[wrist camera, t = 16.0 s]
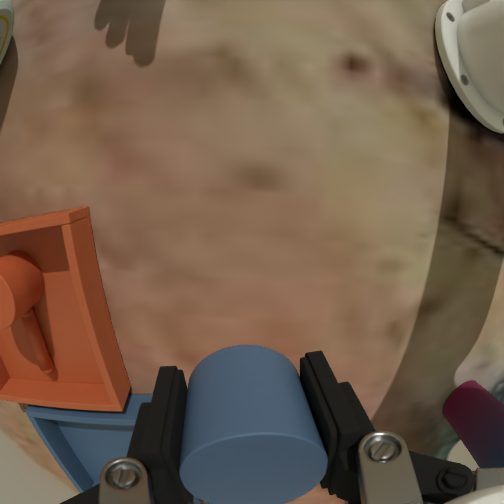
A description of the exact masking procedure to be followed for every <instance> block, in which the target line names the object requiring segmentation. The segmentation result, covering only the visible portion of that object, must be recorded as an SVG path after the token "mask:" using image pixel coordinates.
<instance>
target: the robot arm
mask: <svg viewBox="0 0 504 504" xmlns="http://www.w3.org/2000/svg"><path fill="white" fill-rule="evenodd" d="M435 34H436V42H437V46H438V51H439V54H440V57H441V60H442V63H443V66H444V69H445V71H446V73H447V75H448V78H449V80H450V82H451V84H452V86H453V87H454V89H455V91H456V93H457V95H458V96H459V98H460V99H461V100H462V102H463V103H464V105H465V106H466V108H467V109H468V110H469V111H470V112H471V114H472V115H473V116H474V117H475V118H476V119H477V120H478V121H479V122H481V123H482V124H483V125H484V126H485V127H487V128H489V129H490V130H492V131H495V132H498V133H504V0H448V1H446V2H445V3H443V5H442V6H441V7H440V8H439V10H438V13H437V15H436V22H435ZM300 380H301V383H302V386H303V388H304V391H305V394H306V397H307V400H308V402H309V405H310V408H311V411H312V414H313V417H314V419H315V422H316V425H317V428H318V431H319V433H320V436H321V439H322V442H323V445H324V448H325V450H326V453H327V456H328V463H327V470H326V474H325V476H324V477H323V479H322V480H321V481H320V484H321V487H322V489H324V488H328V491H329V495H333V494H336V495H337V497H338V498H340V499H343V500H345V504H504V468H477V469H476V471H471V470H470V469H469V468H468V467H466V466H465V465H462V464H460V463H455V462H451V461H446V460H442V459H438V458H434V457H430V456H426V455H422V454H418V453H415V452H411V451H408V448H407V445H406V443H405V441H404V439H403V438H402V437H401V436H400V435H398V434H396V433H394V432H390V431H375V429H374V427H373V425H372V423H371V421H370V420H369V418H368V416H367V414H366V412H365V410H364V409H363V407H362V405H361V403H360V401H359V399H358V398H357V396H356V394H355V392H354V390H353V388H352V387H351V385H350V384H349V382H342V383H338V382H337V380H336V378H335V376H334V374H333V372H332V370H331V368H330V366H329V364H328V362H327V360H326V358H325V356H324V354H323V352H322V351H315V352H309V353H306V354H305V357H302V358H300ZM187 391H188V390H187V385H186V381H185V377H184V373H183V370H178V369H177V367H176V366H164V367H160V369H159V373H158V376H157V380H156V384H155V388H154V392H153V396H152V400H151V402H142V403H141V405H140V408H139V411H138V415H137V419H136V422H135V426H134V429H133V433H132V437H131V441H130V445H129V448H128V452H127V456H126V457H120V458H116V459H113V460H111V461H109V462H108V463H107V464H106V465H105V466H104V467H103V468H102V470H101V474H100V483H99V484H97V485H95V486H93V487H92V488H90V489H88V490H86V491H84V492H82V493H80V494H78V495H76V496H74V497H73V498H70V499H68V500H66V501H64V502H62V503H60V504H188V502H189V503H192V502H193V498H194V495H192V494H191V493H190V492H189V491H188V490H187V489H186V488H185V487H184V485H183V483H182V481H181V478H180V475H179V465H180V455H181V445H182V435H183V426H184V417H185V408H186V399H187Z"/></svg>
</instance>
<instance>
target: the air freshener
mask: <svg viewBox="0 0 504 504" xmlns="http://www.w3.org/2000/svg"><path fill="white" fill-rule="evenodd" d="M13 25H14V9H13V5H12V1H11V0H0V64H1V62H2V60H3V58H4V55H5V53H6V50H7V48H8V45H9V42H10V39H11V35H12V31H13Z"/></svg>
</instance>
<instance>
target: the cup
mask: <svg viewBox="0 0 504 504" xmlns="http://www.w3.org/2000/svg"><path fill="white" fill-rule="evenodd" d="M443 415H444V416H445V418H446V419H447V420H448V422H449V423H450V425H451V426H452V427H453V429H454V430H455V432H456V433H457V435H458V436H459V438H460V439H461V440H462V442H463V443H464V445H465V446H466V448H467V449H468V451H469V452H470V453H471V455H472V456H473V458H474V460H475V461H476V463H477V464H478V466H479V467H480V468H504V404H503V403H502V402H501V401H499V400H498V399H497V398H496V397H494V396H493V395H492V394H491V393H489V392H488V391H487V390H486V389H484V388H483V387H482V386H481V385H479V384H478V383H477V382H475V381H473V380H471V381H467V382H465V383H463V384H462V385H460V386H459V387H458V388H457V389H456V390H455V391H454V392H453V393H452V394H451V395H450V396H449V398H448V399H447V401H446V403H445V405H444V408H443Z"/></svg>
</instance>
